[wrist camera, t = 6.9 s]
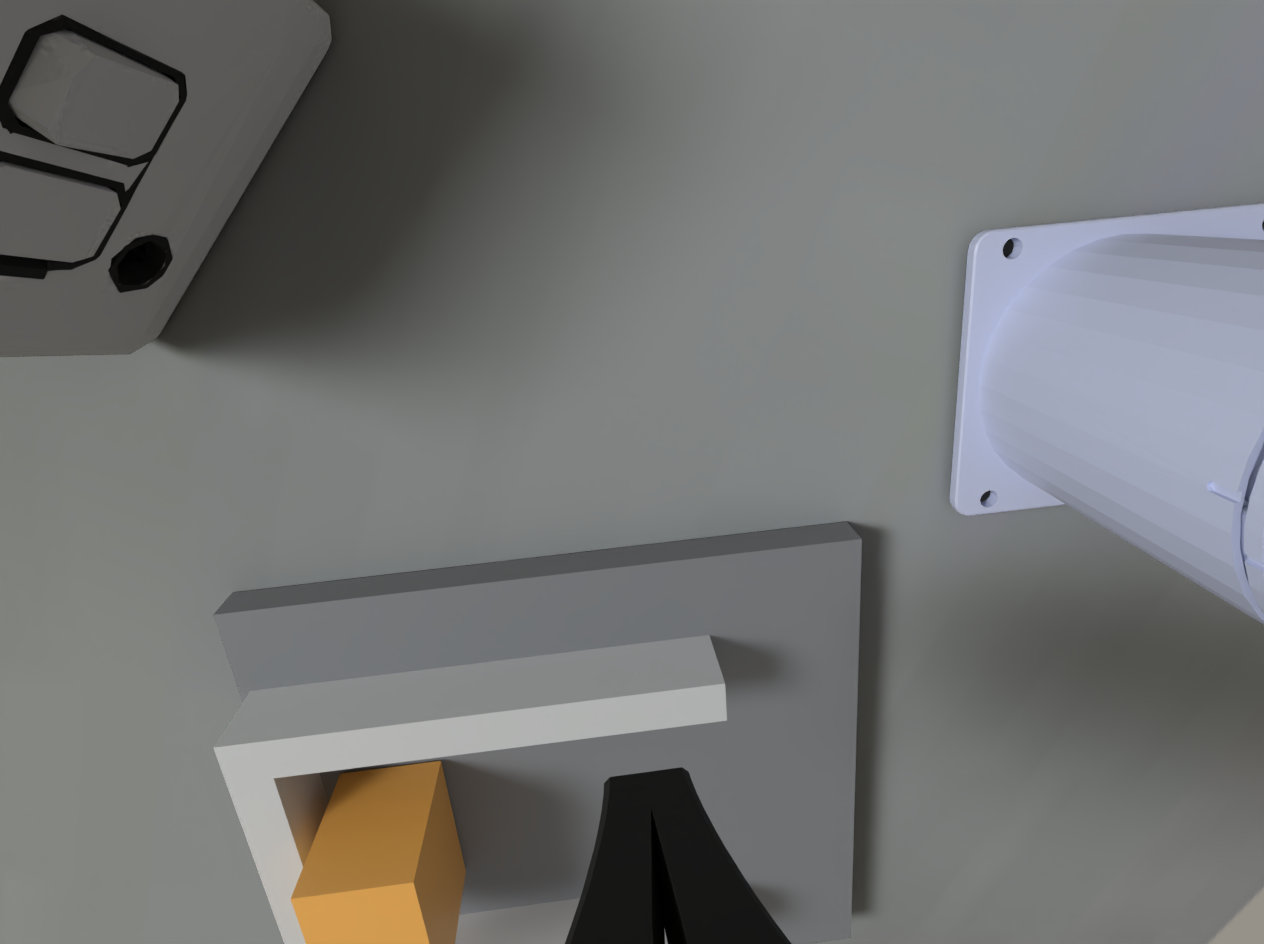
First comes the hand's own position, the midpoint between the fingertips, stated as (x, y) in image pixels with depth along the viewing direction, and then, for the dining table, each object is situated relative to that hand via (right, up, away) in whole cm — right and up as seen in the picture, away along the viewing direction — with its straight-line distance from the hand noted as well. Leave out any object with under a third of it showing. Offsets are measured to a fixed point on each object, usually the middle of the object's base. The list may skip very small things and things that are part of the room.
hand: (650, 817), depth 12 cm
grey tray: (-2, -4, +12) cm, 13 cm away
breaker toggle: (-7, -5, +10) cm, 14 cm away
